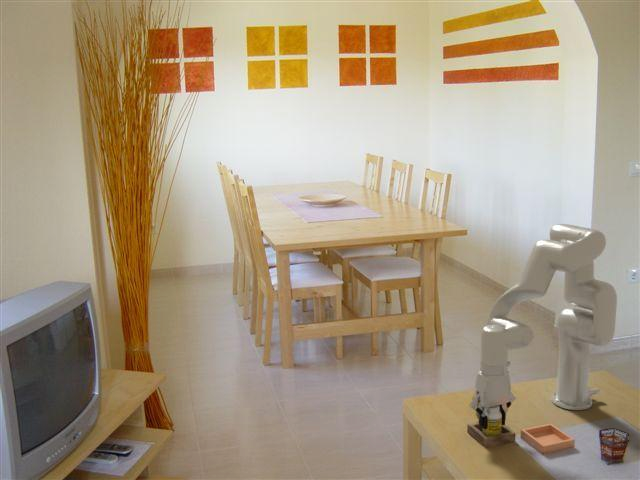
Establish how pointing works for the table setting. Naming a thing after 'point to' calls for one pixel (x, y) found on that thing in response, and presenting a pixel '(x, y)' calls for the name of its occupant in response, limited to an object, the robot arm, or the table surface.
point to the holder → (504, 437)
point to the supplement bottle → (493, 421)
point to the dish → (547, 438)
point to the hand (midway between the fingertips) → (492, 424)
